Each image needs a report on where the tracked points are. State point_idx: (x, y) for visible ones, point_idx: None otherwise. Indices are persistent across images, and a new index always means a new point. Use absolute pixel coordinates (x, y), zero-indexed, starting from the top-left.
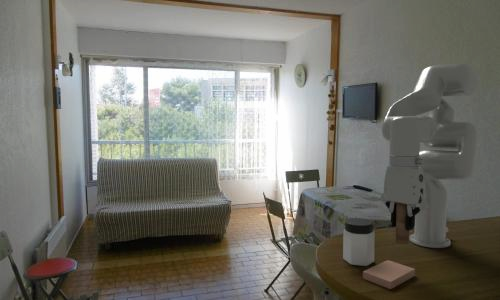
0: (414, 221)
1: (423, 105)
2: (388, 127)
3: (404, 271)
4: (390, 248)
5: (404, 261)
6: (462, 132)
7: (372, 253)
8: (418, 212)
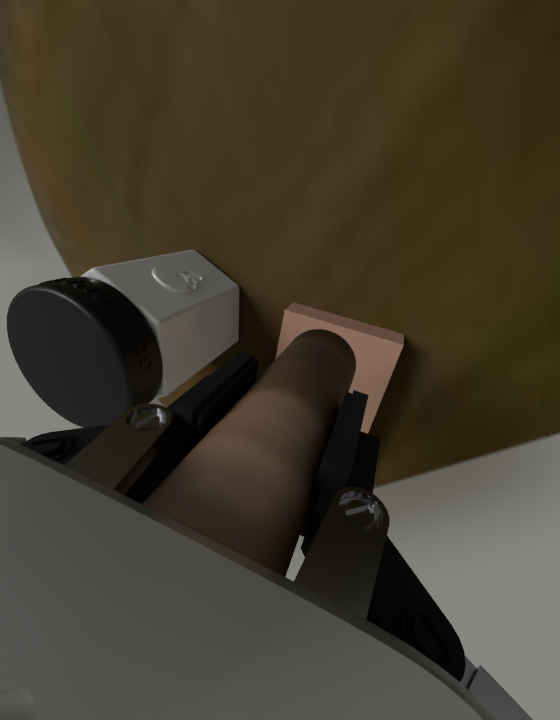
0: (373, 468)
1: None
2: None
3: (370, 387)
4: (222, 39)
5: (334, 196)
6: None
7: (221, 312)
8: (411, 579)
